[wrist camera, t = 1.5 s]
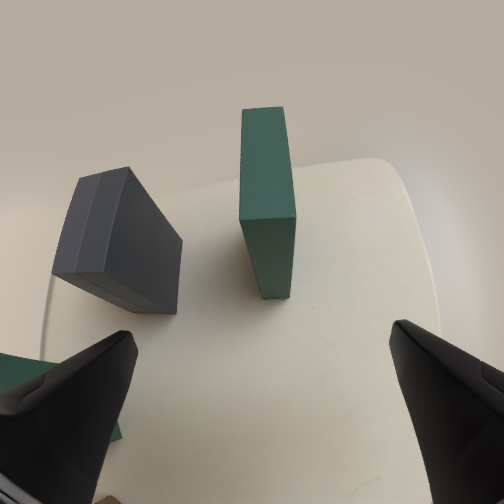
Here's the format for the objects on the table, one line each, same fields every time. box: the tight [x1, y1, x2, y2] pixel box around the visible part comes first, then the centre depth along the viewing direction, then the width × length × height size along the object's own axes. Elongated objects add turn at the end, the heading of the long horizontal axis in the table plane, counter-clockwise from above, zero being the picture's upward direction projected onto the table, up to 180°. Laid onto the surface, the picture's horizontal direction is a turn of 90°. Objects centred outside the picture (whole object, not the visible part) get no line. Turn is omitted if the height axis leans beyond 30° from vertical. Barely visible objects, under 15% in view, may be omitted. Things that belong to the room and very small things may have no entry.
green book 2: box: [239, 107, 296, 299], centre depth 18 cm, size 7×2×13 cm, turn 1°
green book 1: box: [0, 353, 122, 442], centre depth 14 cm, size 7×2×13 cm, turn 16°
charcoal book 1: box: [52, 173, 154, 314], centre depth 19 cm, size 7×2×11 cm, turn 1°
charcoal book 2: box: [75, 167, 182, 314], centre depth 19 cm, size 7×2×11 cm, turn 1°
